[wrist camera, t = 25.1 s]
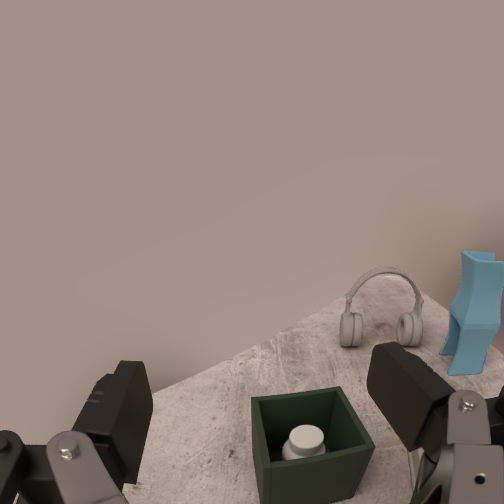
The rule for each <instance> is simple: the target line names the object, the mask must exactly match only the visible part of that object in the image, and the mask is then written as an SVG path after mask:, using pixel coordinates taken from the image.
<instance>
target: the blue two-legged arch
mask: <svg viewBox="0 0 504 504" xmlns="http://www.w3.org/2000/svg"><path fill="white" fill-rule="evenodd" d="M461 255H462V279H461V283H460V287H459V290H458V292H457V295H456V296H455V298H454V300H453V302H452V304H451V306H450V320H449V330H448V335H447V338H446V341H445V343H444V345H443V347H442V349H441V351H440V352H439V354H440V355H455V356H454V358H453V361H452V363H451V366H450V368H449V370H448V372H447V373H448V375H470V374H480V373H481V372H482V370H483V364H484V360H485V356H486V354H487V351H488V349H489V346H490V344H491V342H492V340H493V339H494V337H495V335H496V333H497V331H498V330H499V328H500V324H501V322H500V321H501V320H500V319H501V318H500V302H501V295H502V291H503V287H504V262H502V261H494V258H495V253H489V252H475V251H462V253H461Z"/></svg>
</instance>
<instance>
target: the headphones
mask: <svg viewBox="0 0 504 504" xmlns="http://www.w3.org/2000/svg"><path fill="white" fill-rule="evenodd" d="M385 273H392V274H398V275H401V276H402V277H404V278H405V279H407V280H408V281H409V283H410V284H411V286H412V288H413V290H414V292H415V294H416V296H415V298H416V302H415V306H414V310H413V312H410V313H402V314H401V315H400V317H399V320H398V325H397V338H398V342H399V344H400V345H409V346H415V345H417V344H418V343H419V342H420V340H421V337H422V332H423V322H422V318H421V309H422V304H423V303H424V300H423V299H422V298H421V294H420V291H419V289H418V287H417V285H416V283H415V282H414V281H413V280H412V279H411V278H410V277H409V276H408V275H407V274H406V273H404V272H403V271H401V270H400V269H397V268H394V267H380V268H376V269H373V270H371V271H369V272H367V273H366V274H364V275H363V276H362V277H360V278H359V279H358V281H357V282H356V283H355V284H354V285H353V287H352V288H351V290H350V292H349V293H348V294H346V300H347V301H346V308H345V312H343V313H342V315H341V321H340V345H342V346H350V345H352V346H357V345H359V344H360V341H361V337H362V328H363V322H362V315H361V314H360V313H352V312H350V303H352V297H353V296H354V295H355V293H356V292H357V290H358V289H359V288H360V287H361V286H362V285H363V284H364V283H365V282H366V281H367V280H368V279H370V278H372V277H374V276H376V275H378V274H385Z"/></svg>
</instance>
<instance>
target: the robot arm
mask: <svg viewBox="0 0 504 504" xmlns="http://www.w3.org/2000/svg"><path fill="white" fill-rule="evenodd" d="M367 390H368V393H369V395H370V396H371V398H372V399H373V401H374V402H375V404H376V405H377V406H378V408H379V409H380V411H381V412H382V414H383V415H384V416H385V418H386V419H387V421H388V422H389V424H390V425H391V427H392V428H393V429H394V431H395V432H396V434H397V435H398V437H399V438H400V440H401V441H402V443H403V444H404V446H405V447H406V448H407V450H408V451H409V452H412V451H414V450H417V449H419V448H422V449H423V450H424V452H423V454H422V456H421V459H420V465H419V470H418V475H417V479H416V484H415V488H414V492H413V496H412V499H411V501H410V503H409V504H504V386H503V387H502V389H501V391H500V394H499V396H498V397H494V398H489V399H484V398H483V397H482V396H481V395H480V394H478V393H476V392H474V391H470V390H460V391H455V390H454V389H453V388H452V387H451V386H450V385H449V384H448V383H447V382H446V381H444V380H443V379H442V378H441V377H440V376H439V375H438V374H437V373H436V372H433V369H432V368H430V367H429V366H427V364H426V363H425V362H424V361H423V360H422V359H421V358H420V357H418V356H416V355H414V354H412V353H410V352H406V351H405V350H404V349H403V348H402V347H401V346H400V345H399V344H398V343H397V342H389V343H383V344H378V345H375V347H374V348H373V352H372V357H371V362H370V367H369V372H368V376H367ZM87 400H88V401H87V402H86V403H85V405H84V407H83V409H82V410H81V412H80V414H79V416H78V418H77V420H76V422H75V424H74V426H73V428H72V430H71V431H64V432H61V433H59V434H57V435H55V436H54V437H52V438H51V440H50V441H49V442H48V444H47V445H24V443H23V442H22V440H21V439H20V437H19V436H18V435H17V434H16V433H15V432H12V431H7V430H3V431H0V504H13V502H14V499H15V497H16V494H17V492H18V493H19V497H18V499H17V502H16V504H129V503H128V501H127V500H126V498H125V496H124V495H123V493H122V489H123V485H124V483H128V484H135V485H136V482H137V477H138V472H139V468H140V463H141V459H142V454H143V450H144V446H145V441H146V437H147V433H148V429H149V425H150V421H151V417H152V412H153V399H152V394H151V390H150V386H149V382H148V378H147V374H146V370H145V366H144V363H143V362H142V361H123V360H122V361H120V363H119V364H118V366H117V368H116V370H115V372H114V374H106V375H105V376H104V377H102V378H101V379H100V380H99V381H97V383H96V385H95V386H94V388H93V390H92V394H90V396H89V397H88V399H87Z"/></svg>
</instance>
